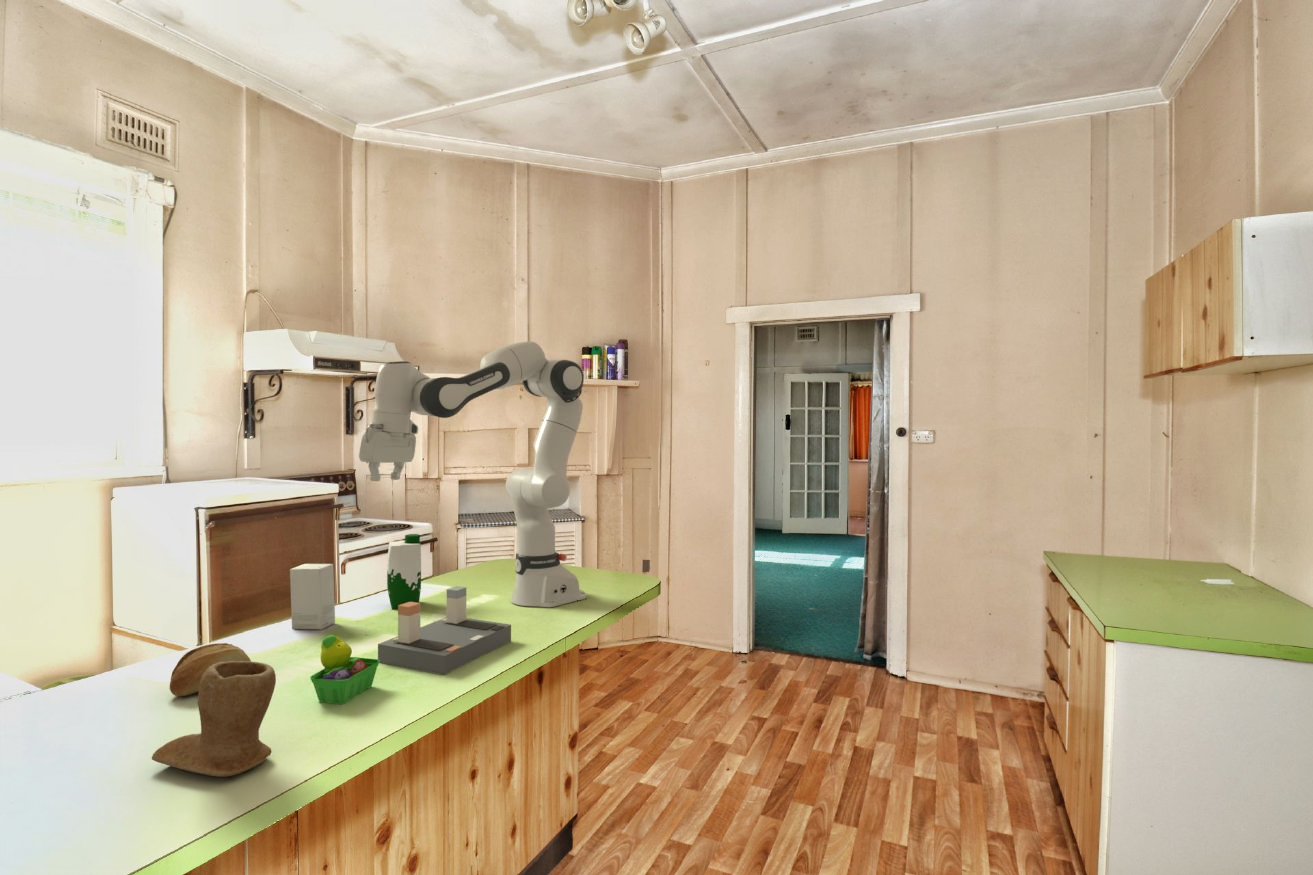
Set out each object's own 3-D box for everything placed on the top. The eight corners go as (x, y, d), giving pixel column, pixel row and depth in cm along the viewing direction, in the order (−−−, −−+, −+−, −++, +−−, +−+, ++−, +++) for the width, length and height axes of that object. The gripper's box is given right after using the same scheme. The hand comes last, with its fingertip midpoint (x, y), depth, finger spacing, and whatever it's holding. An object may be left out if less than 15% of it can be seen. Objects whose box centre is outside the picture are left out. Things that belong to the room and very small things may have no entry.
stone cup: (293, 752, 107) (293, 658, 106) (222, 791, 95) (222, 686, 95) (223, 736, 112) (223, 647, 111) (148, 771, 100) (148, 671, 100)
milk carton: (422, 607, 191) (422, 537, 190) (388, 610, 187) (388, 538, 186) (419, 599, 199) (419, 532, 198) (386, 602, 195) (386, 534, 194)
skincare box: (335, 623, 175) (336, 563, 174) (320, 630, 168) (320, 568, 168) (305, 621, 176) (305, 562, 175) (289, 629, 169) (289, 567, 169)
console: (450, 631, 169) (450, 612, 169) (511, 640, 162) (511, 621, 162) (377, 662, 147) (377, 640, 147) (444, 674, 140) (444, 651, 140)
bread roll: (154, 696, 128) (154, 654, 128) (231, 670, 141) (231, 632, 141) (187, 705, 124) (187, 662, 124) (263, 677, 138) (263, 638, 137)
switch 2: (456, 618, 166) (456, 586, 166) (466, 619, 165) (466, 587, 164) (446, 622, 162) (446, 589, 162) (456, 623, 161) (456, 590, 161)
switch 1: (409, 636, 151) (409, 601, 151) (420, 638, 150) (420, 603, 150) (397, 641, 148) (398, 605, 147) (408, 643, 146) (408, 607, 146)
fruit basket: (344, 708, 123) (344, 647, 123) (302, 703, 125) (302, 643, 125) (381, 684, 135) (381, 628, 134) (342, 680, 136) (342, 625, 136)
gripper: (380, 424, 157) (374, 483, 157) (421, 427, 177) (416, 480, 177) (355, 422, 158) (349, 480, 158) (399, 425, 178) (394, 477, 178)
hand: (385, 480), depth 168 cm, fingers open, 8 cm apart
